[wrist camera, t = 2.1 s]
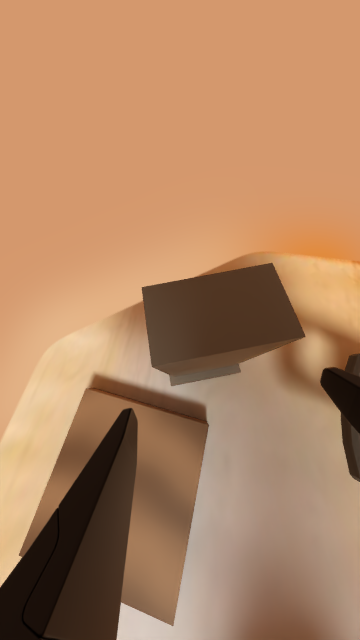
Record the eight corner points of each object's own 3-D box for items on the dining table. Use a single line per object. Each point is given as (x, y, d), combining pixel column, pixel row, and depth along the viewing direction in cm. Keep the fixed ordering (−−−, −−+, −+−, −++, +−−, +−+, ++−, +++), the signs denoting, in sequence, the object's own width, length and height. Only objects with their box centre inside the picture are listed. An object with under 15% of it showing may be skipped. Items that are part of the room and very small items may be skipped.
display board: (174, 599, 13) (173, 626, 12) (35, 538, 15) (18, 555, 13) (206, 421, 17) (208, 425, 15) (93, 388, 18) (86, 388, 17)
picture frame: (238, 372, 18) (327, 353, 6) (171, 386, 18) (140, 390, 6) (225, 327, 20) (276, 247, 8) (164, 339, 20) (129, 275, 8)
